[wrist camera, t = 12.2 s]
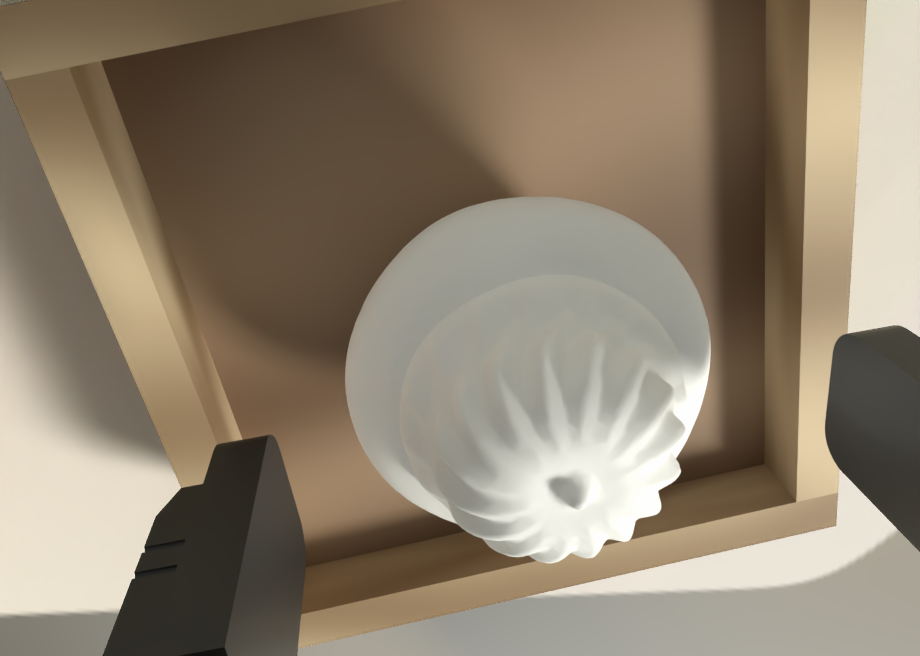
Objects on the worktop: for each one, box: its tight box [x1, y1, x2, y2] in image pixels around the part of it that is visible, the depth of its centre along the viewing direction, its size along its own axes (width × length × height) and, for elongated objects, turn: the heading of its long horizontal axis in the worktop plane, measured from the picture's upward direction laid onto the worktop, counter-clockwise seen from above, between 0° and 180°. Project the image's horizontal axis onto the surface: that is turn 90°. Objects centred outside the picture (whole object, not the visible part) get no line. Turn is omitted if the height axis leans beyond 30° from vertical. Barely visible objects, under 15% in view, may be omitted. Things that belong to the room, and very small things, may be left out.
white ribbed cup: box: [345, 196, 711, 564], centre depth 12 cm, size 6×6×7 cm
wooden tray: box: [0, 0, 867, 648], centre depth 17 cm, size 14×14×6 cm
